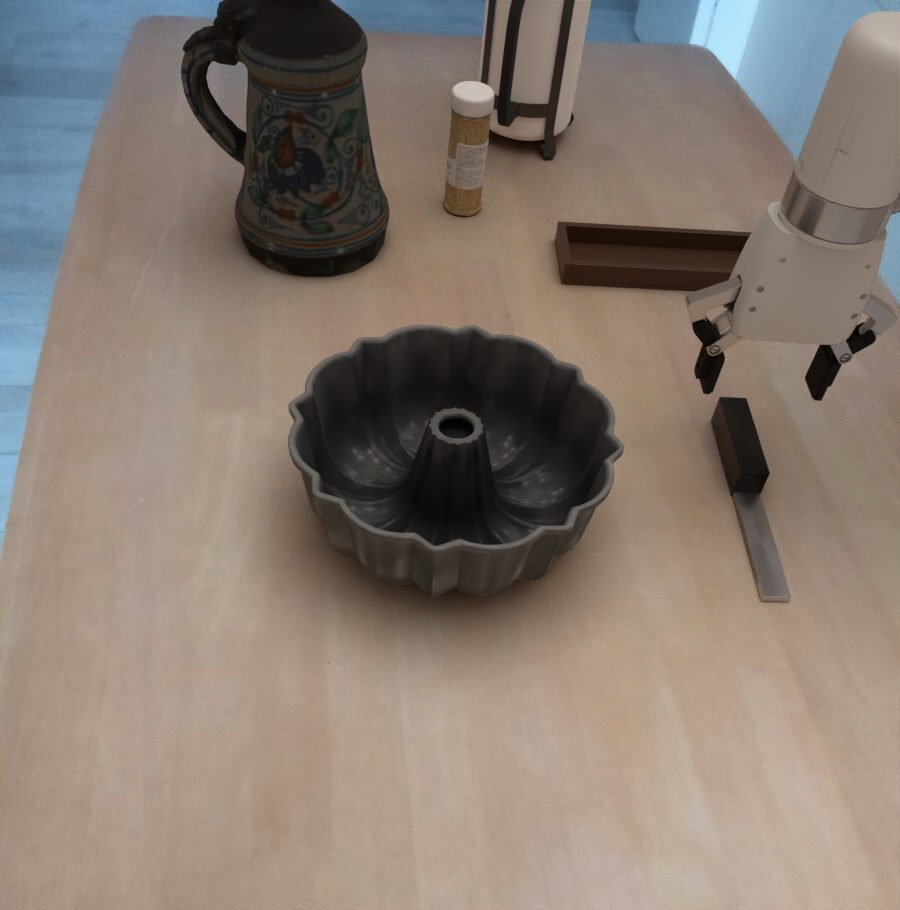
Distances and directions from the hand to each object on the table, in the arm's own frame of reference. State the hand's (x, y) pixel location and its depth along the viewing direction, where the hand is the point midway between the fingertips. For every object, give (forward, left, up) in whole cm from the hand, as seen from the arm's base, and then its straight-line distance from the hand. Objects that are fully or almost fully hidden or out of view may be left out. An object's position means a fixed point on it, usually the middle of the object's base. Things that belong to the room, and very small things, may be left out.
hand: (758, 386), depth 88 cm
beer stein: (+42, -32, -9) cm, 53 cm away
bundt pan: (+27, +8, -9) cm, 29 cm away
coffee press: (+16, -57, -9) cm, 60 cm away
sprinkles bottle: (+24, -40, -9) cm, 47 cm away
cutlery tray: (0, -30, -8) cm, 31 cm away
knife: (0, +6, -8) cm, 10 cm away
